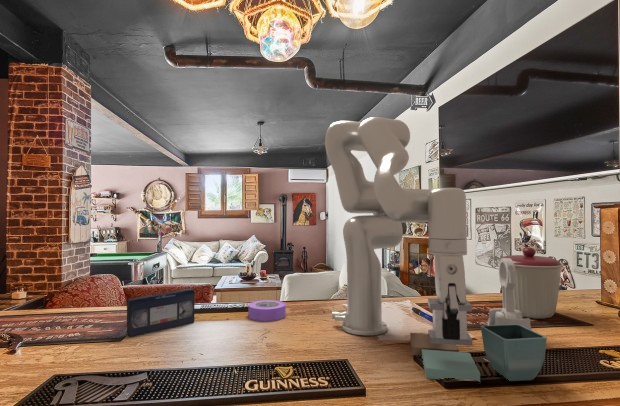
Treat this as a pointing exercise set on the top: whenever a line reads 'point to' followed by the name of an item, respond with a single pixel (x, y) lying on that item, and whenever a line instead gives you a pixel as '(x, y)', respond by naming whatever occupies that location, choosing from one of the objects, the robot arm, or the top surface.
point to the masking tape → (266, 310)
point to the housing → (437, 331)
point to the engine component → (507, 298)
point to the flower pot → (514, 350)
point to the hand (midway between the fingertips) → (449, 333)
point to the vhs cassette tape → (159, 312)
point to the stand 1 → (427, 344)
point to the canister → (535, 284)
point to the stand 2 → (449, 365)
